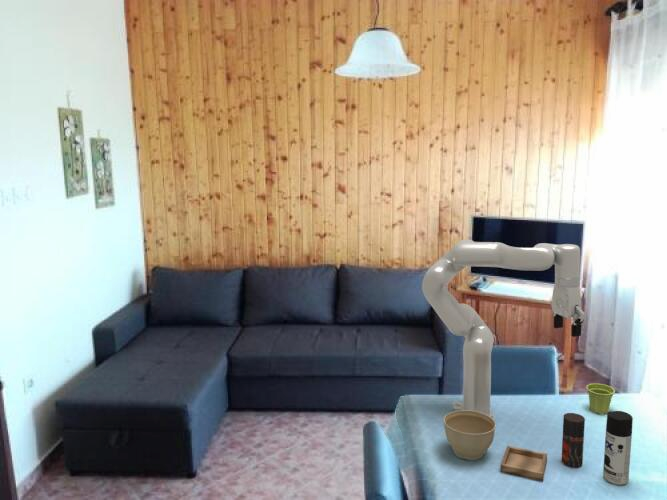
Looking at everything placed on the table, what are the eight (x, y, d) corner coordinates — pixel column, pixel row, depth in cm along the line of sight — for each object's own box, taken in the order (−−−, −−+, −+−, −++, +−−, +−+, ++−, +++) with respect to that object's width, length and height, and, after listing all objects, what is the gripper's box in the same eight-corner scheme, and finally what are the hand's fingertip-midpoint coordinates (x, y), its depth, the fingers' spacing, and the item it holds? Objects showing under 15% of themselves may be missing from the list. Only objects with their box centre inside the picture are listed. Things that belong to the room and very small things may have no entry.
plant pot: (619, 414, 197) (620, 392, 195) (597, 418, 195) (598, 395, 193) (601, 403, 206) (602, 382, 204) (579, 406, 204) (580, 385, 202)
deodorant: (584, 468, 164) (587, 422, 161) (563, 467, 165) (565, 421, 162) (579, 458, 169) (582, 413, 167) (559, 456, 171) (561, 412, 168)
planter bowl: (494, 470, 165) (495, 436, 163) (441, 462, 169) (441, 430, 167) (495, 443, 180) (496, 412, 178) (446, 437, 184) (446, 407, 183)
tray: (500, 471, 163) (500, 464, 163) (507, 452, 174) (507, 445, 174) (542, 481, 158) (543, 474, 158) (546, 460, 169) (547, 453, 168)
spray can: (598, 473, 161) (601, 410, 158) (619, 471, 162) (624, 409, 159) (611, 486, 155) (615, 421, 151) (633, 484, 155) (638, 419, 152)
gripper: (542, 278, 186) (542, 325, 189) (573, 288, 169) (573, 341, 172) (561, 275, 188) (561, 323, 190) (594, 286, 171) (594, 338, 173)
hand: (567, 331), depth 181 cm, fingers open, 9 cm apart
